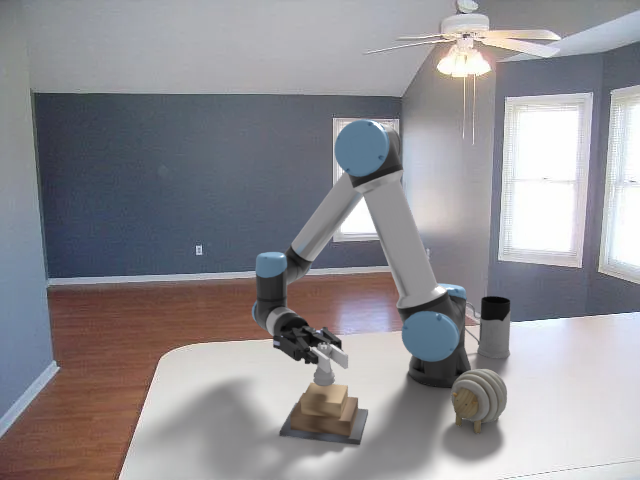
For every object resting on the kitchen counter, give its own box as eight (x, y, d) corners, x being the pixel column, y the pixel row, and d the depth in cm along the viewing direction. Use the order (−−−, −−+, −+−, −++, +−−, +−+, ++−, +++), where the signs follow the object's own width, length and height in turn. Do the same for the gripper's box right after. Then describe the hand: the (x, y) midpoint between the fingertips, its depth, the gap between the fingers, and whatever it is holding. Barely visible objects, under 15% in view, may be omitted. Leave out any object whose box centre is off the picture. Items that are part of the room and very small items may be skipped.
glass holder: (510, 359, 137) (513, 305, 134) (455, 354, 141) (457, 301, 139) (509, 348, 145) (512, 296, 142) (458, 343, 149) (459, 293, 147)
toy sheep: (435, 429, 103) (436, 377, 101) (473, 398, 115) (474, 352, 113) (486, 448, 96) (488, 393, 94) (520, 414, 108) (522, 364, 107)
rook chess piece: (333, 388, 101) (333, 349, 100) (311, 386, 102) (310, 348, 101) (336, 378, 106) (336, 341, 104) (315, 376, 107) (315, 340, 105)
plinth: (368, 413, 109) (368, 382, 108) (359, 444, 98) (359, 410, 97) (295, 406, 113) (295, 376, 112) (279, 435, 101) (278, 402, 100)
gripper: (319, 337, 123) (373, 373, 102) (255, 349, 116) (299, 391, 95) (319, 306, 122) (373, 338, 101) (254, 317, 114) (298, 353, 94)
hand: (337, 363), depth 98 cm, fingers closed on rook chess piece, 3 cm apart
